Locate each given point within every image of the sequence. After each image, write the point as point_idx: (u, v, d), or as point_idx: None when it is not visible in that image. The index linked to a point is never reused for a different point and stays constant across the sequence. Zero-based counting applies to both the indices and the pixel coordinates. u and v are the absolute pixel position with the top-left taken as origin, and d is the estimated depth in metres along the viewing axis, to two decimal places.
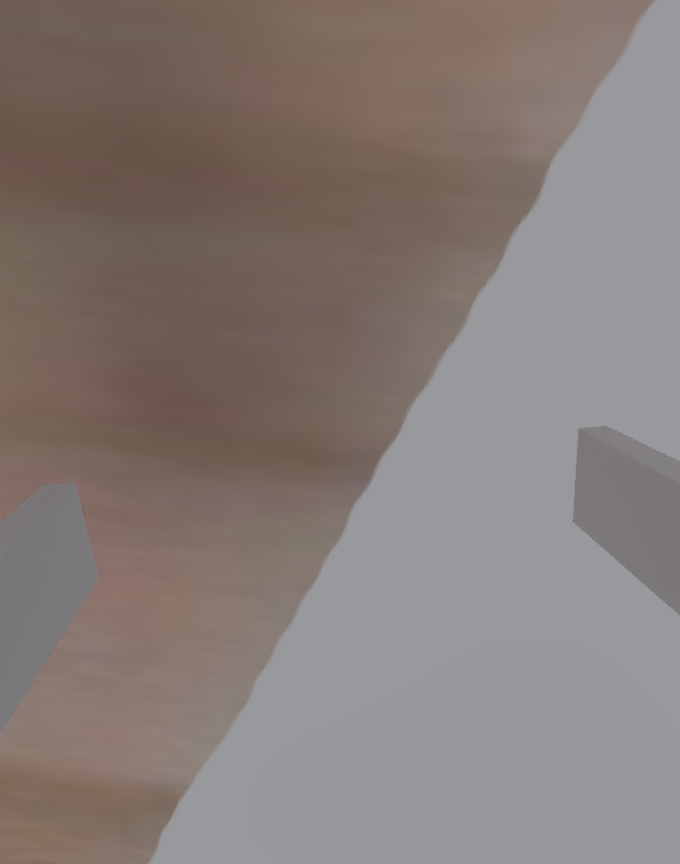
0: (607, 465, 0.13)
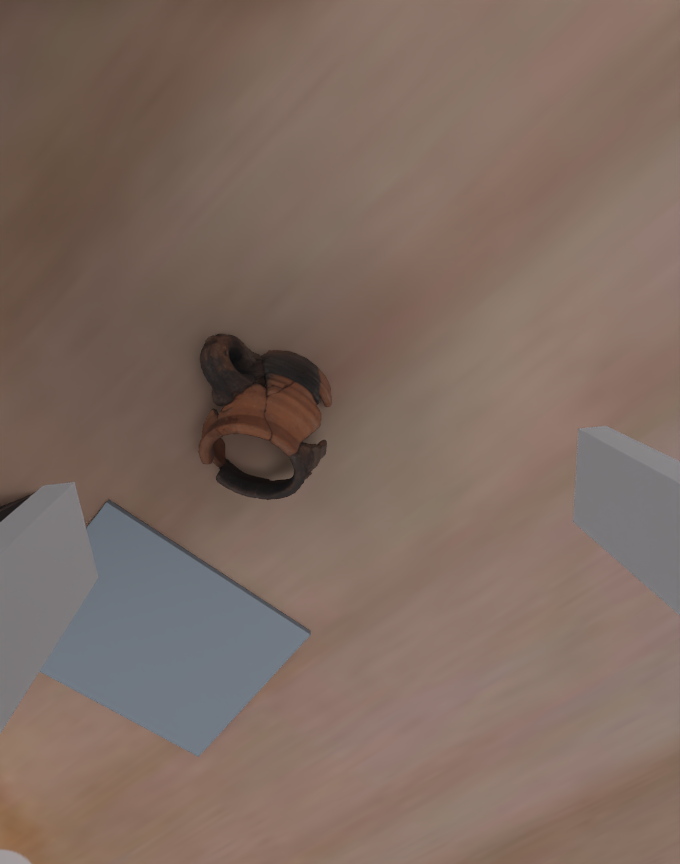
0: (607, 465, 0.13)
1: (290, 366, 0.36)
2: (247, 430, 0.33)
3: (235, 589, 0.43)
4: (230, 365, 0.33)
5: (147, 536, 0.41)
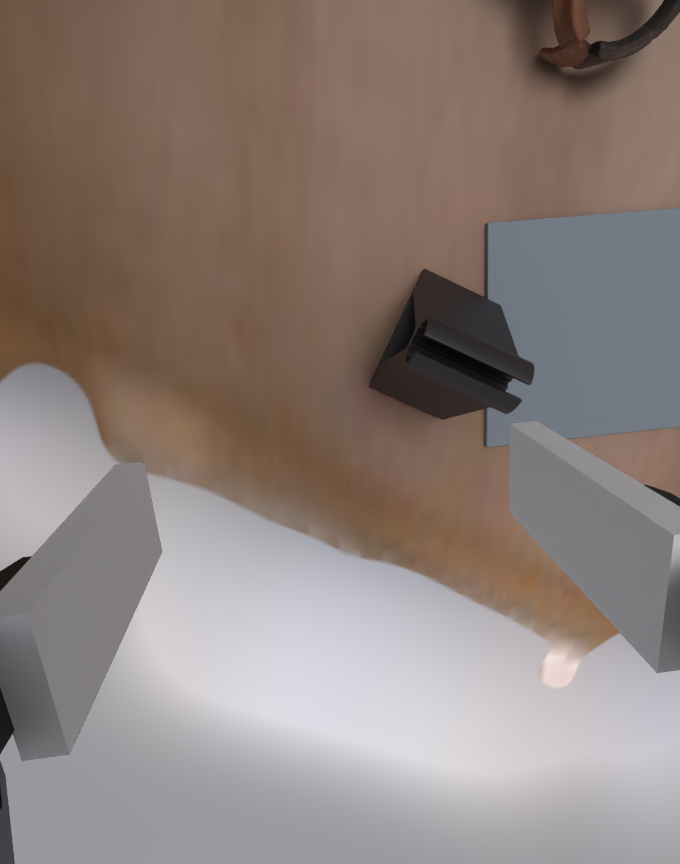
0: (531, 457, 0.13)
1: None
2: None
3: (661, 213, 0.36)
4: None
5: (545, 227, 0.36)
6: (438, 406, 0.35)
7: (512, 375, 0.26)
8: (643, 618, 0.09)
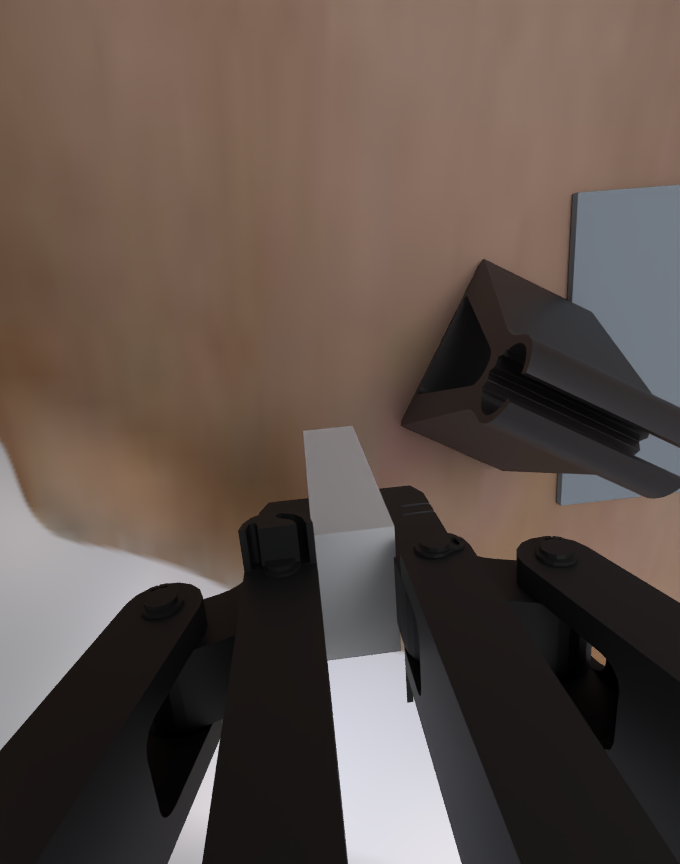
0: None
1: None
2: None
3: None
4: None
5: (659, 198, 0.25)
6: (505, 459, 0.24)
7: (672, 440, 0.15)
8: None
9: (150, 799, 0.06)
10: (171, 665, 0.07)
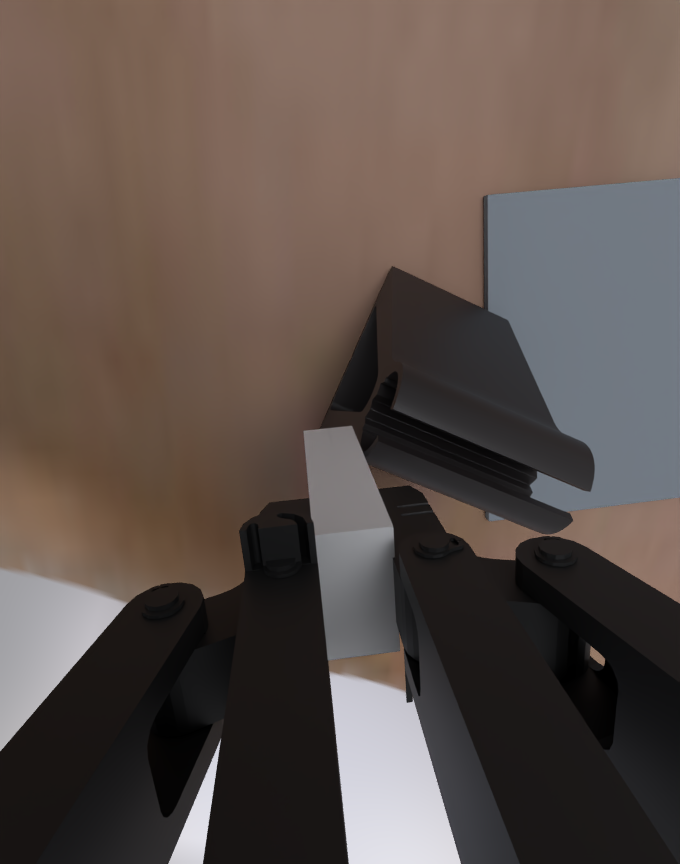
0: None
1: None
2: None
3: None
4: None
5: (575, 200, 0.23)
6: None
7: (557, 476, 0.14)
8: None
9: (151, 799, 0.06)
10: (172, 665, 0.07)
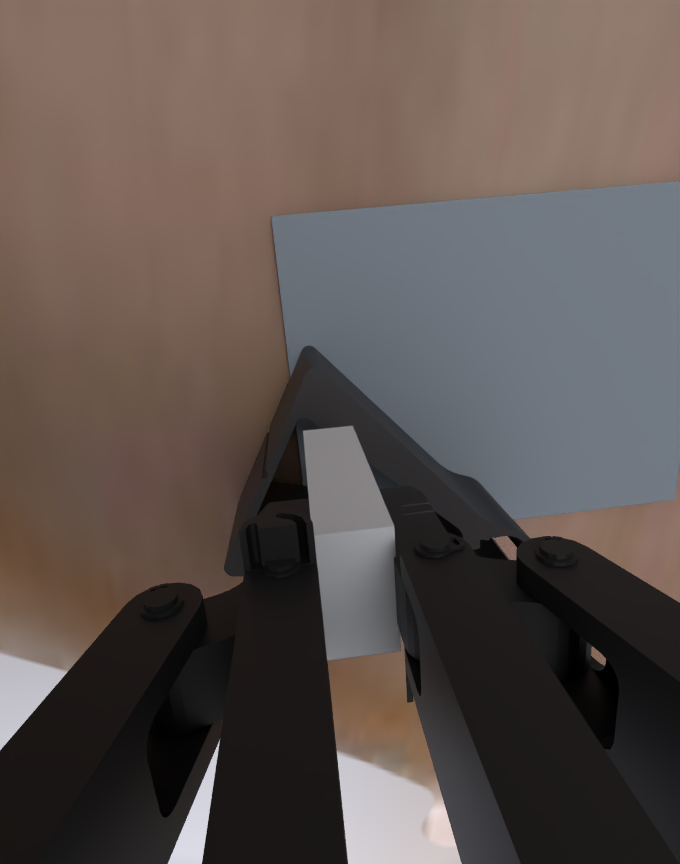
0: None
1: None
2: None
3: (547, 198, 0.23)
4: None
5: (364, 221, 0.23)
6: None
7: None
8: None
9: (150, 799, 0.06)
10: (171, 665, 0.07)
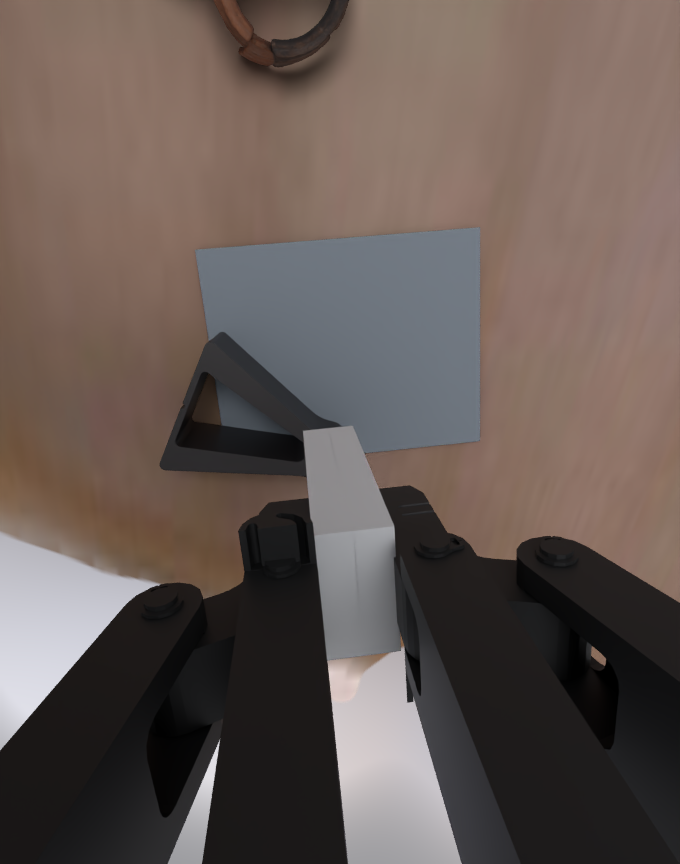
0: None
1: None
2: None
3: (372, 239, 0.37)
4: None
5: (254, 253, 0.36)
6: None
7: None
8: None
9: (150, 799, 0.06)
10: (171, 665, 0.07)
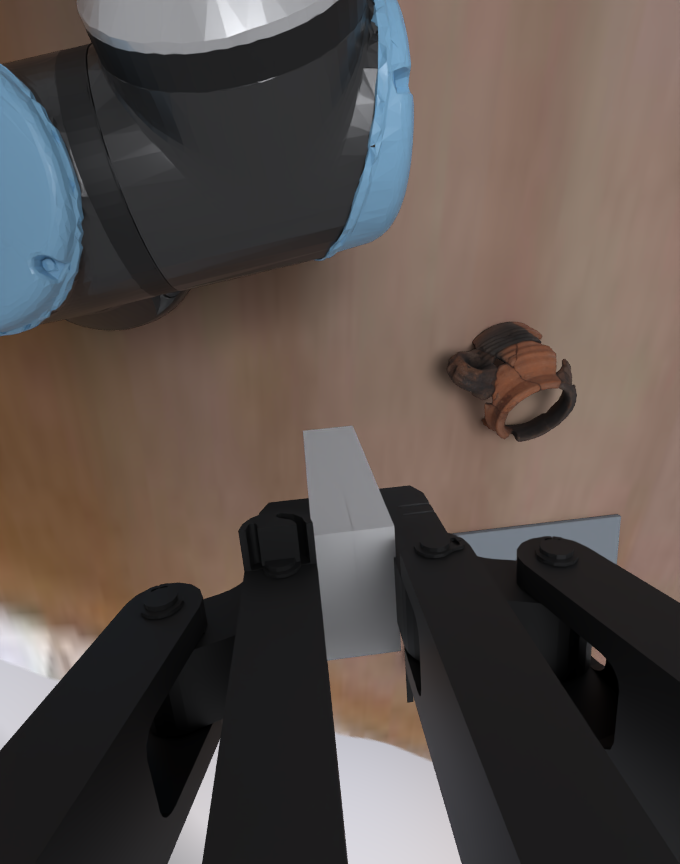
0: None
1: (500, 337, 0.46)
2: (523, 395, 0.43)
3: (549, 526, 0.54)
4: (477, 370, 0.43)
5: (470, 538, 0.54)
6: None
7: None
8: None
9: (150, 799, 0.06)
10: (171, 665, 0.07)
